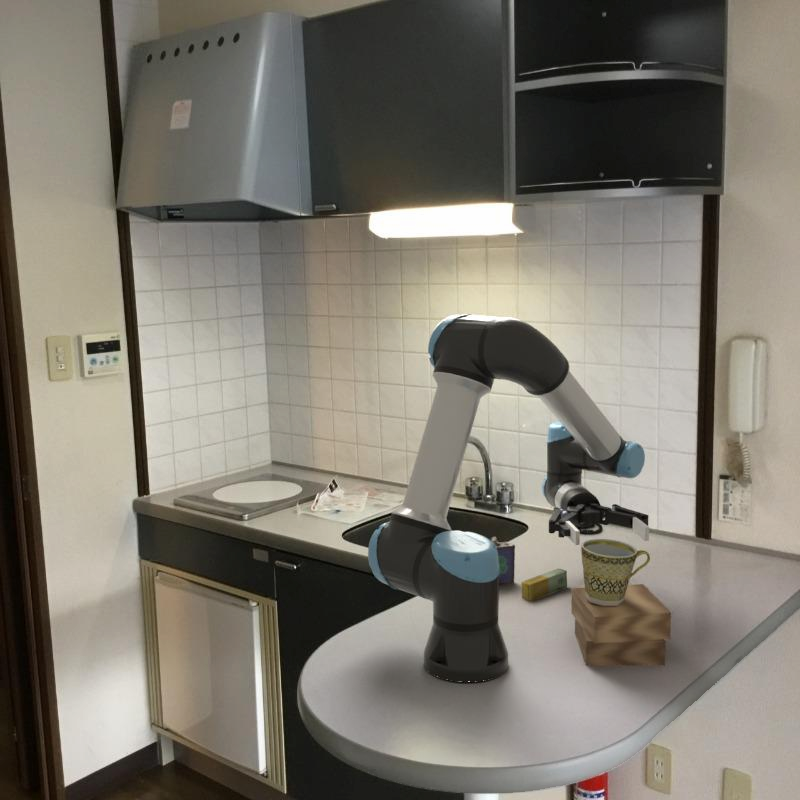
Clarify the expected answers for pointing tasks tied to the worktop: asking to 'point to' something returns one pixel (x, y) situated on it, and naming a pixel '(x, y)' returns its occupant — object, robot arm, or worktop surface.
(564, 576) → the medication box
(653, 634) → the tower top block
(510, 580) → the flask
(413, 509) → the robot arm
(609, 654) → the tower bottom block
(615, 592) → the ceramic cup
